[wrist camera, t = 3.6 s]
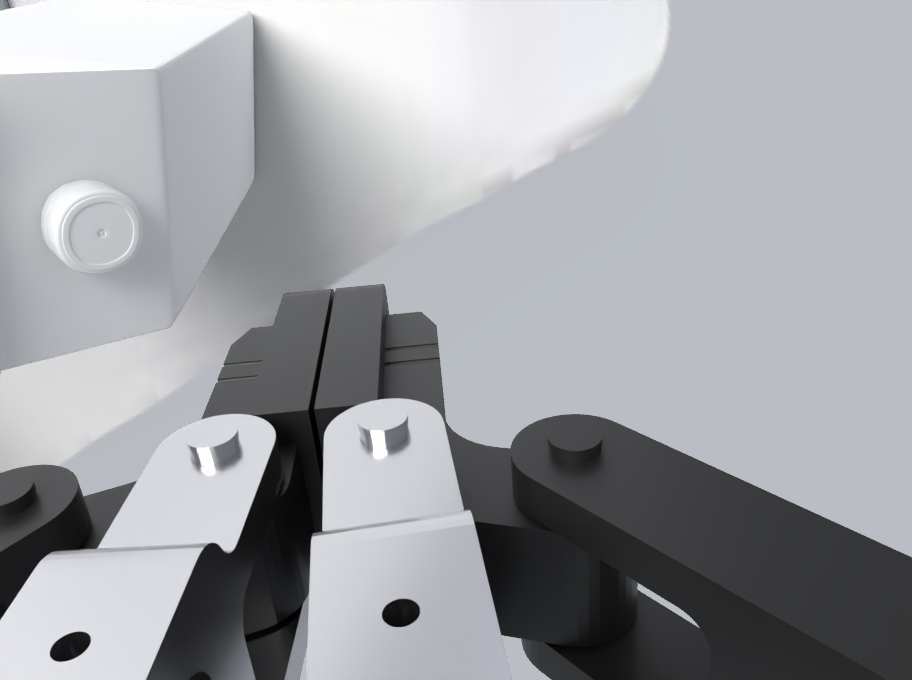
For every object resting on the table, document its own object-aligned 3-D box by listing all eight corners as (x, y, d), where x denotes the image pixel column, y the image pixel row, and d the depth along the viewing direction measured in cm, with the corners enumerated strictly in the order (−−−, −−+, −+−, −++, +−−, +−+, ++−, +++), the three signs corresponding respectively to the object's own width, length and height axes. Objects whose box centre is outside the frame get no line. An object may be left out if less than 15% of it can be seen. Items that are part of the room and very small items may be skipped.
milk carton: (90, 167, 36) (-178, 383, 19) (72, -8, 33) (-266, 68, 16) (255, 180, 37) (135, 398, 20) (254, 10, 34) (109, 100, 17)
